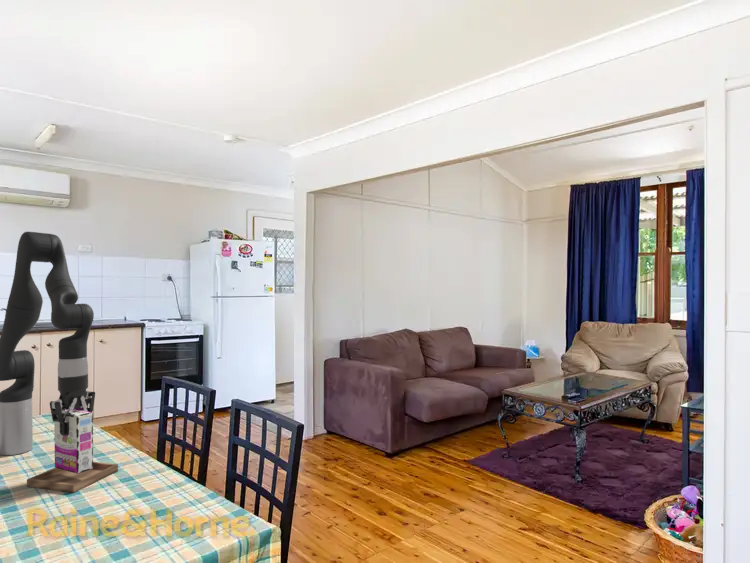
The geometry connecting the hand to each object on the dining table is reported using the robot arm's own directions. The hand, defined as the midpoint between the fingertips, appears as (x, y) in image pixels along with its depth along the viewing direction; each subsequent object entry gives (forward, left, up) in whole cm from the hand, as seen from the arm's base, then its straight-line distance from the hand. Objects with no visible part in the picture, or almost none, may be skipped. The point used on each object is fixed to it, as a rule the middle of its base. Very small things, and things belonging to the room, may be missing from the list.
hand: (73, 431), depth 149 cm
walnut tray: (0, 0, -13) cm, 13 cm away
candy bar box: (0, 0, -11) cm, 11 cm away
